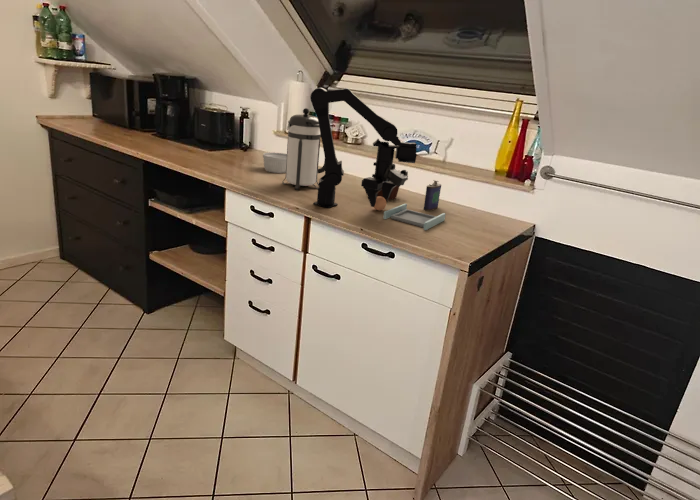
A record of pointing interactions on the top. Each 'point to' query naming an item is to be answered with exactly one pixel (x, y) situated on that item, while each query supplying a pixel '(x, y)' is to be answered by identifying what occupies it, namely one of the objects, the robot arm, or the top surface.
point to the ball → (380, 203)
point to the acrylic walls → (427, 224)
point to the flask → (432, 196)
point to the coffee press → (303, 150)
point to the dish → (412, 217)
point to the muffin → (393, 193)
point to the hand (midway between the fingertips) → (379, 204)
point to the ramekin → (275, 162)
